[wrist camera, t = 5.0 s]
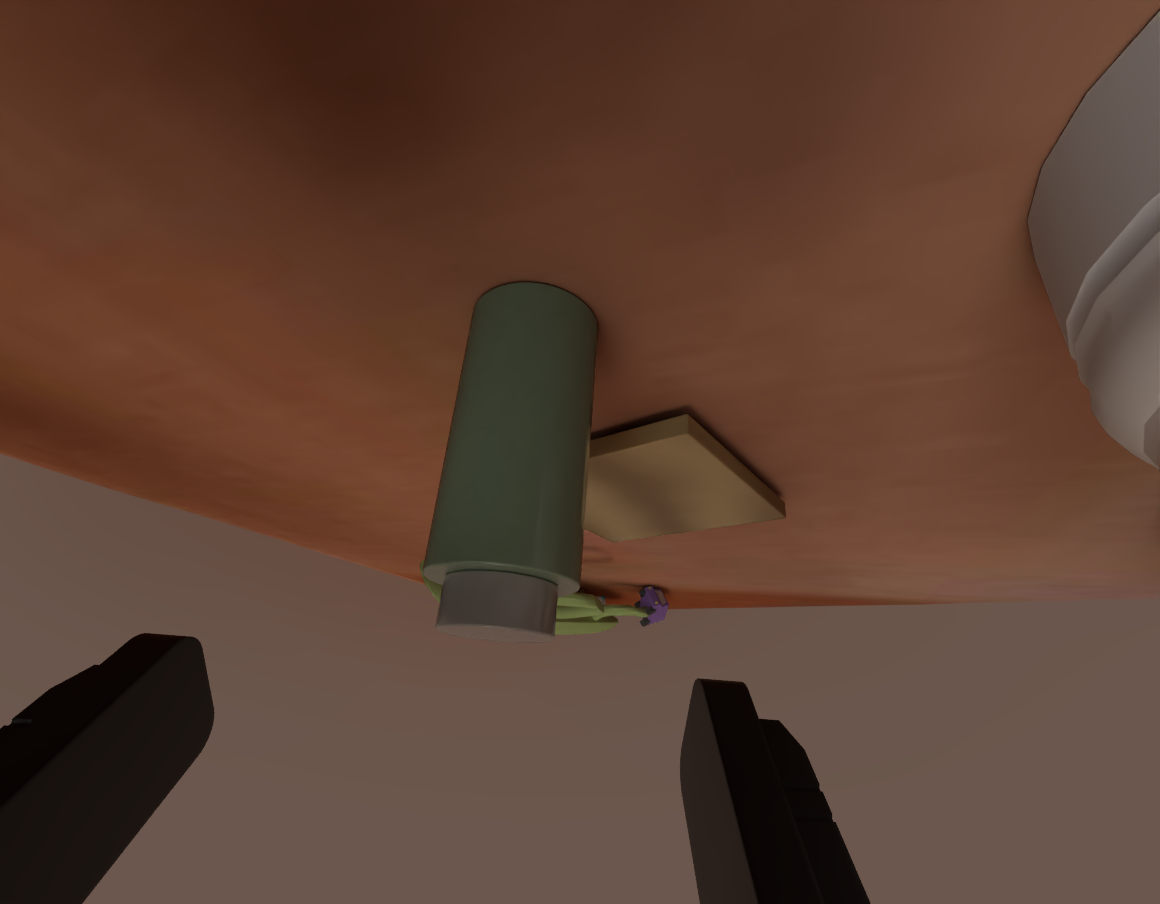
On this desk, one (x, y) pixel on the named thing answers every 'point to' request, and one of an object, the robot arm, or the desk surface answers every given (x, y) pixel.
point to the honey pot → (1109, 243)
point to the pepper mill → (515, 467)
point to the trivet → (670, 484)
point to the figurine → (592, 609)
